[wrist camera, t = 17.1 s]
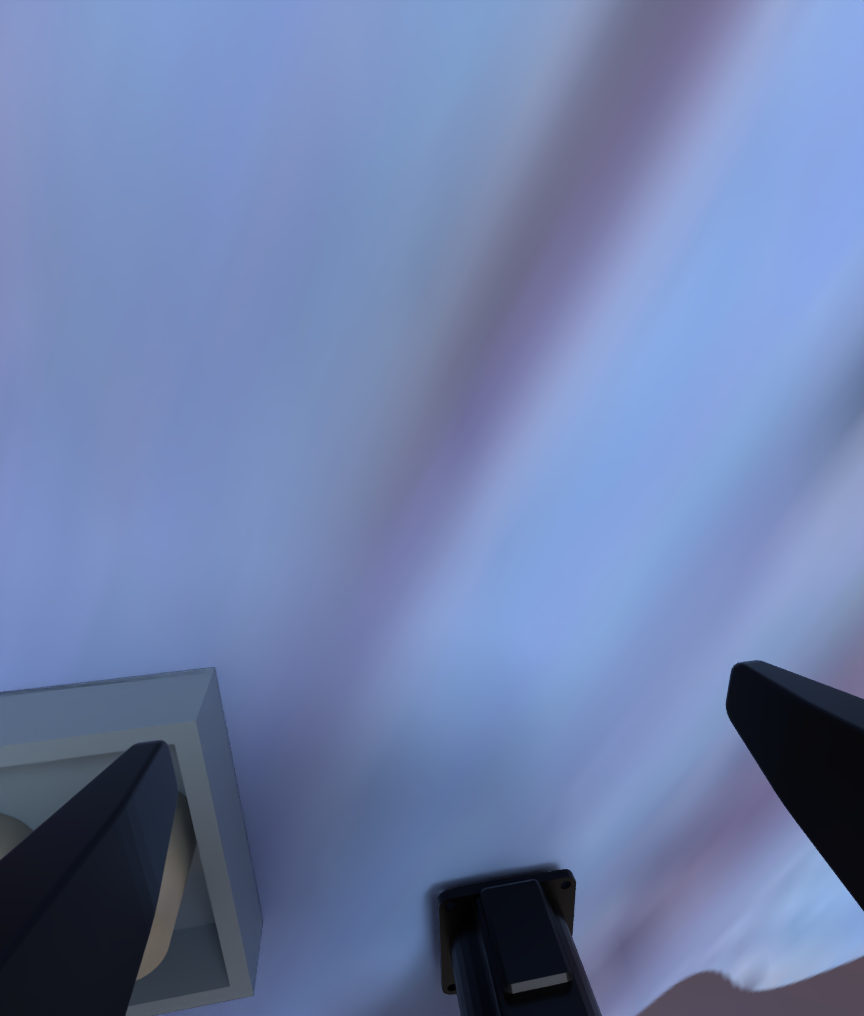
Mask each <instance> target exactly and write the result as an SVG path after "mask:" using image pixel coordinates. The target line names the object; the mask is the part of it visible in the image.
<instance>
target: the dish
mask: <svg viewBox="0 0 864 1016" xmlns="http://www.w3.org/2000/svg"><path fill="white" fill-rule="evenodd" d="M155 740H163V741H165V742H166V743H167V745H168V747H169V750H170V754H171V759H172V763H173V767H174V771H175V776H176V780H177V786H178V791H179V792H181V793H183V794H184V795H185V796H187V800H188V805H189V809H190V813H191V818H192V822H193V827H194V831H195V835H196V840H197V845H196V849H195V852H194V856H193V860H192V863H191V867H190V871H189V874H188V878H187V882H186V885H185V889H184V893H183V897H182V900H181V904H180V908H179V911H178V915H177V919H176V922H175V926H174V930H173V933H172V937H171V941H170V944H169V948H168V951H167V953H166V955H165V957H164V959H163V960H162V962H161V963H160V964H159V965H158V966H157V967H156V968H155V969H154V970H153V971H152V972H150V973H149V974H148V975H146V976H144V977H143V978H141V979H139V980H137V981H136V982H135V985H134V989H133V992H132V995H131V999H130V1002H129V1005H128V1009H127V1012H126V1016H154V1015H159V1014H164V1013H169V1012H174V1011H179V1010H184V1009H189V1008H194V1007H199V1006H204V1005H209V1004H214V1003H219V1002H224V1001H229V1000H234V999H239V998H244V997H249V996H254V989H255V981H256V973H257V965H258V957H259V949H260V941H261V933H262V925H263V918H262V913H261V908H260V902H259V897H258V892H257V886H256V881H255V876H254V871H253V865H252V860H251V855H250V850H249V844H248V839H247V834H246V828H245V823H244V818H243V813H242V807H241V802H240V797H239V792H238V786H237V781H236V776H235V770H234V765H233V760H232V755H231V749H230V744H229V739H228V733H227V728H226V723H225V718H224V712H223V707H222V702H221V697H220V691H219V686H218V681H217V675H216V670H215V667H211V668H203V669H194V670H186V671H178V672H169V673H161V674H152V675H144V676H135V677H127V678H118V679H110V680H101V681H93V682H85V683H76V684H68V685H59V686H51V687H42V688H34V689H25V690H17V691H8V692H0V813H1V814H5V815H8V816H10V817H13V818H15V819H17V820H19V821H21V822H23V823H24V824H26V825H27V826H28V827H30V828H31V829H32V830H33V831H34V830H35V829H36V828H37V827H38V826H40V825H41V824H42V823H43V822H44V821H45V820H47V819H48V818H49V817H50V816H51V815H52V814H53V813H55V812H56V811H57V810H58V809H59V808H60V807H62V806H63V805H64V804H65V803H66V802H67V801H68V800H70V799H71V798H72V797H73V796H74V795H75V794H77V793H78V792H79V791H80V790H81V789H82V788H83V787H85V786H86V785H87V784H88V783H89V782H90V781H92V780H93V779H94V778H95V777H96V776H97V775H98V774H100V773H101V772H102V771H103V770H104V769H105V768H107V767H108V766H109V765H110V764H111V763H112V762H113V761H115V760H116V759H117V758H118V757H119V756H120V755H122V754H123V753H124V752H125V751H126V750H127V749H128V748H130V747H131V746H132V745H134V744H136V743H140V742H147V741H155Z"/></svg>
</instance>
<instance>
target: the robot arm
mask: <svg viewBox="0 0 864 1016" xmlns="http://www.w3.org/2000/svg"><path fill="white" fill-rule="evenodd" d="M726 710H727V714H728V717H729V719H730V721H731V722H732V724H733V726H734V727H735V729H736V730H737V732H738V734H739V735H740V737H741V738H742V740H743V742H744V743H745V745H746V746H747V748H748V749H749V751H750V753H751V754H752V756H753V757H754V759H755V761H756V762H757V764H758V765H759V767H760V769H761V770H762V772H763V773H764V775H765V777H766V778H767V780H768V781H769V783H770V785H771V786H772V788H773V789H774V791H775V792H776V794H777V795H778V797H779V798H780V800H781V801H782V803H783V804H784V806H785V807H786V809H787V810H788V811H789V813H790V814H791V815H792V817H793V818H794V820H795V821H796V822H797V824H798V825H799V826H800V828H801V829H802V830H803V832H804V833H805V834H806V836H807V837H808V838H809V840H810V841H811V842H812V843H813V845H814V846H815V847H816V849H817V850H818V851H819V853H820V854H821V855H822V857H823V858H824V859H825V861H826V862H827V863H828V865H829V866H830V867H831V869H832V870H833V871H834V873H835V874H836V875H837V877H838V878H839V879H840V881H841V882H842V883H843V885H844V886H845V887H846V889H847V890H848V891H849V892H850V894H851V895H852V896H853V898H854V899H855V900H856V902H857V903H858V904H859V906H860V907H861V908H862V910H863V911H864V699H862V698H859V697H857V696H854V695H851V694H849V693H846V692H843V691H841V690H838V689H835V688H833V687H830V686H827V685H825V684H822V683H819V682H817V681H814V680H811V679H809V678H806V677H803V676H801V675H798V674H795V673H793V672H790V671H787V670H785V669H782V668H779V667H777V666H774V665H771V664H769V663H766V662H763V661H758V660H755V661H747V662H740V663H737V664H735V665H734V666H733V668H732V670H731V674H730V680H729V686H728V692H727V698H726ZM177 797H178V786H177V780H176V776H175V771H174V767H173V763H172V759H171V754H170V750H169V747H168V745H167V743H166V742H165V741H163V740H155V741H147V742H140V743H136V744H134V745H132V746H131V747H130V748H128V749H127V750H126V751H125V752H124V753H123V754H122V755H120V756H119V757H118V758H117V759H116V760H115V761H113V762H112V763H111V764H110V765H109V766H108V767H107V768H105V769H104V770H103V771H102V772H101V773H100V774H98V775H97V776H96V777H95V778H94V779H93V780H92V781H90V782H89V783H88V784H87V785H86V786H85V787H83V788H82V789H81V790H80V791H79V792H78V793H77V794H75V795H74V796H73V797H72V798H71V799H70V800H68V801H67V802H66V803H65V804H64V805H63V806H62V807H60V808H59V809H58V810H57V811H56V812H55V813H53V814H52V815H51V816H50V817H49V818H48V819H47V820H45V821H44V822H43V823H42V824H41V825H40V826H38V827H37V828H36V829H35V830H34V831H33V832H32V833H30V834H29V835H28V836H27V837H26V838H25V839H23V840H22V841H21V842H20V843H19V844H18V845H17V846H15V847H14V848H13V849H12V850H11V851H10V852H8V853H7V854H6V855H5V856H4V857H3V858H2V859H0V1016H126V1012H127V1009H128V1005H129V1002H130V999H131V995H132V992H133V989H134V985H135V982H136V979H137V975H138V972H139V969H140V965H141V962H142V959H143V955H144V952H145V948H146V945H147V942H148V938H149V935H150V931H151V928H152V924H153V920H154V917H155V913H156V908H157V903H158V899H159V894H160V889H161V883H162V878H163V873H164V868H165V862H166V857H167V852H168V847H169V841H170V836H171V831H172V826H173V820H174V815H175V810H176V804H177ZM575 890H576V881H575V878H574V876H573V874H572V872H571V871H570V870H568V869H562V870H556V871H551V872H545V873H540V874H534V875H529V876H523V877H518V878H512V879H507V880H501V881H496V882H490V883H485V884H479V885H474V886H468V887H463V888H457V889H452V890H447V891H444V892H443V893H441V894H440V895H439V896H438V923H439V946H440V969H441V983H442V990H443V992H444V993H445V994H449V995H450V994H457V996H458V1002H459V1008H460V1013H461V1016H602V1015H601V1012H600V1010H599V1007H598V1004H597V1002H596V999H595V996H594V994H593V991H592V988H591V986H590V983H589V980H588V978H587V975H586V973H585V970H584V967H583V965H582V962H581V959H580V957H579V954H578V951H577V949H576V946H575V944H574V941H573V938H572V934H573V919H574V905H575Z"/></svg>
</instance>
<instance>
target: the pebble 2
mask: <svg viewBox="0 0 864 1016" xmlns="http://www.w3.org/2000/svg"><path fill="white" fill-rule="evenodd" d="M196 845H197V840H196V835H195V831H194V827H193V822H192V818H191V813H190V809H189V805H188V800H187V796H185V795H184V794H183V793H181V792H179V791H178V797H177V804H176V810H175V815H174V820H173V826H172V831H171V836H170V841H169V847H168V852H167V857H166V862H165V868H164V873H163V878H162V883H161V889H160V894H159V899H158V903H157V908H156V913H155V917H154V920H153V924H152V928H151V931H150V935H149V938H148V942H147V945H146V948H145V952H144V955H143V959H142V962H141V965H140V969H139V972H138V975H137V979H136V981H137V980H139V979H141V978H143V977H144V976H146V975H148V974H149V973H150V972H152V971H153V970H154V969H155V968H156V967H157V966H158V965H159V964H160V963H161V962H162V960H163V959H164V957H165V955H166V953H167V951H168V948H169V944H170V941H171V937H172V933H173V930H174V926H175V922H176V919H177V915H178V911H179V908H180V904H181V900H182V897H183V893H184V889H185V885H186V882H187V878H188V874H189V871H190V867H191V863H192V860H193V856H194V852H195V849H196Z"/></svg>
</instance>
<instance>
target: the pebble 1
mask: <svg viewBox="0 0 864 1016" xmlns="http://www.w3.org/2000/svg"><path fill="white" fill-rule="evenodd" d="M32 832H33V830H32V829H31V828H30V827H28V826H27V825H26V824H24V823H23V822H21V821H19V820H17V819H15V818H13V817H10V816H8V815H5V814H1V813H0V859H2V858H3V857H4V856H5V855H6V854H7V853H8V852H10V851H11V850H12V849H13V848H14V847H15V846H17V845H18V844H19V843H20V842H21V841H22V840H23V839H25V838H26V837H27V836H28V835H29V834H30V833H32Z"/></svg>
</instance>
